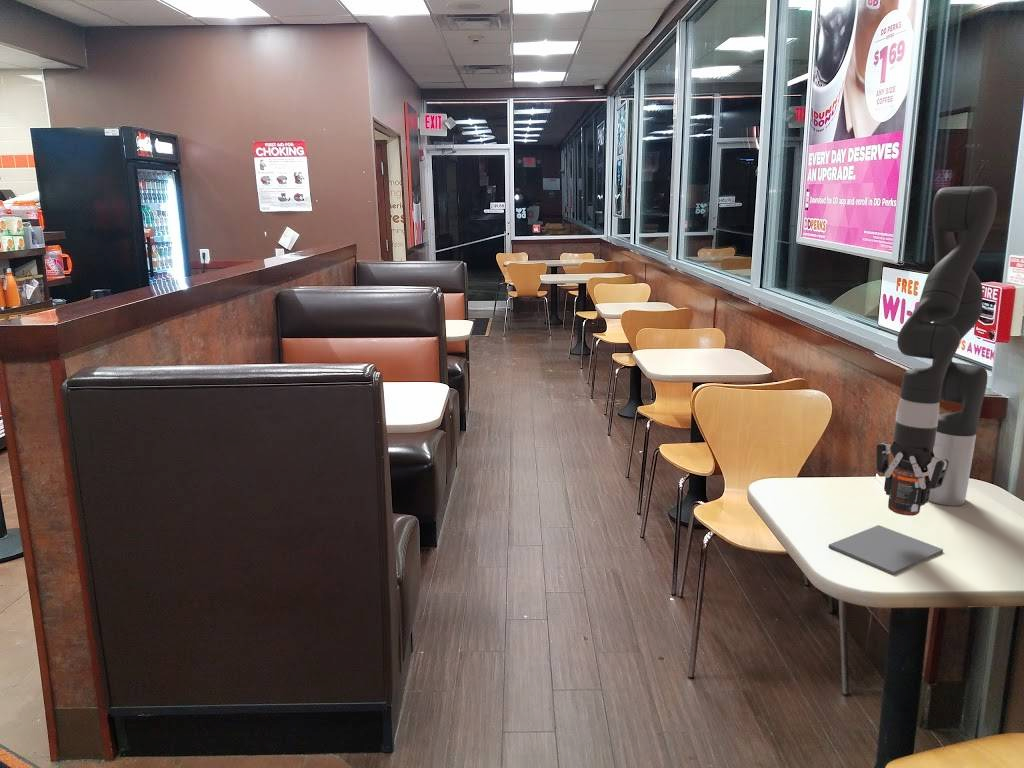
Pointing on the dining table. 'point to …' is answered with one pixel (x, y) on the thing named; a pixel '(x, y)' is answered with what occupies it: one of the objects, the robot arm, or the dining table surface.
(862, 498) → the dining table surface
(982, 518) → the dining table surface
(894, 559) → the mat
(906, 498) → the supplement bottle
